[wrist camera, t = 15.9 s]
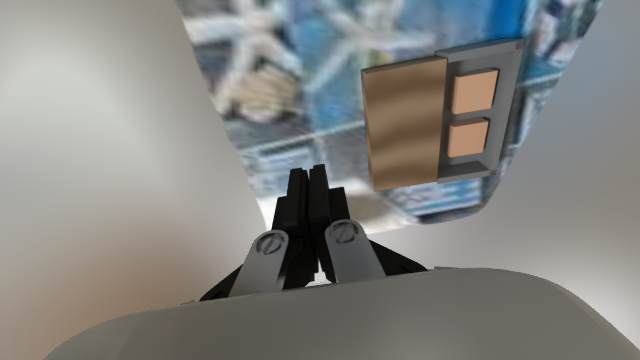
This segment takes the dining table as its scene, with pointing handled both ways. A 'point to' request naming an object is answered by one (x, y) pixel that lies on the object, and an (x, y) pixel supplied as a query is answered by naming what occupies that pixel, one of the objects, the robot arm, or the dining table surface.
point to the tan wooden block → (403, 121)
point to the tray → (507, 63)
